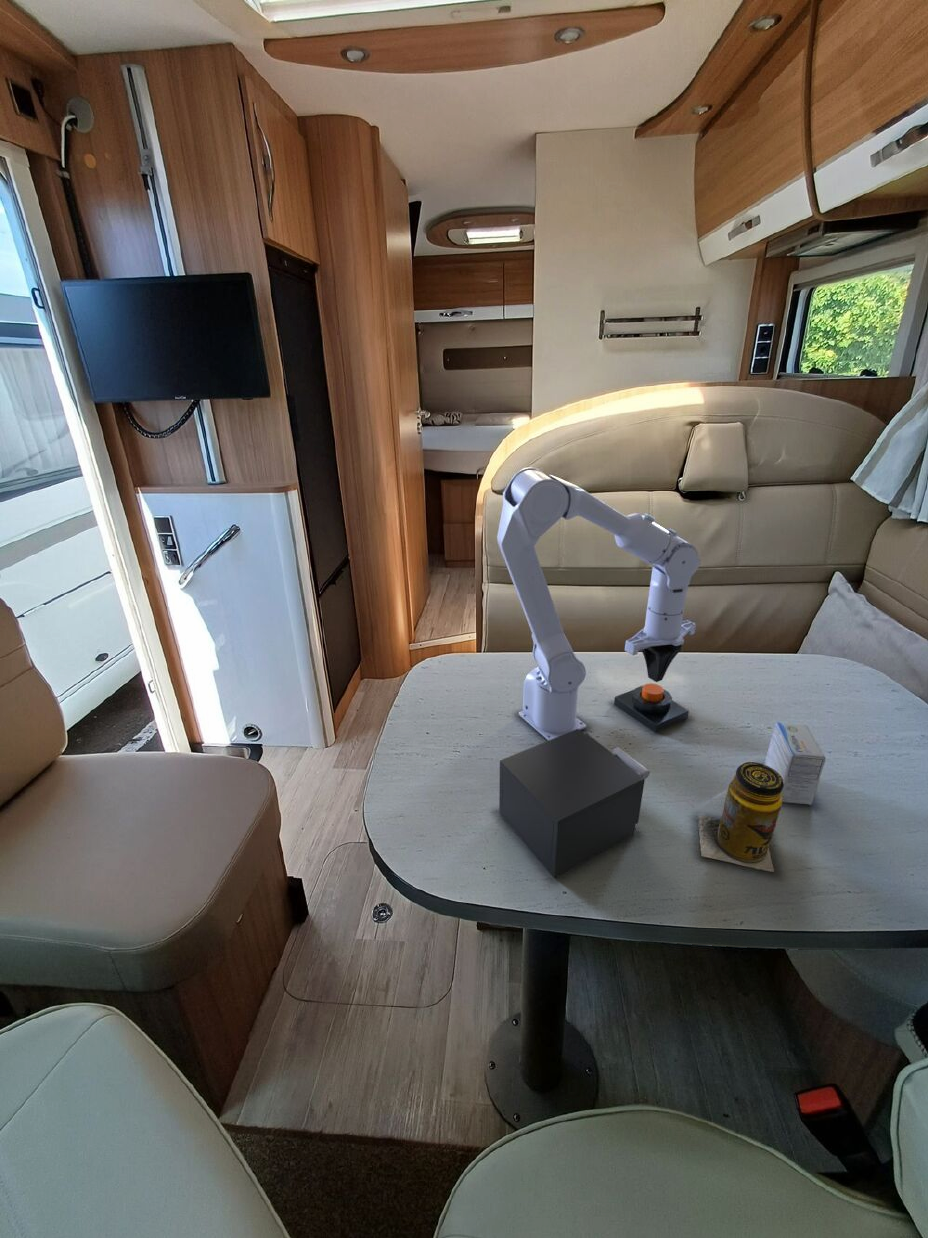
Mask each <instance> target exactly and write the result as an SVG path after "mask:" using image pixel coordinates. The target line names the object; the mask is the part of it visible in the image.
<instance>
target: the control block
mask: <svg viewBox="0 0 928 1238" xmlns="http://www.w3.org/2000/svg"><path fill="white" fill-rule="evenodd" d="M644 685H645V684H644ZM644 685H643V684H642V685H640V686H637V687H635V688H634V689H631V690H629V691H626V692H624V693H622V694H621V693H620V694H618V695H615V697H614V701H613V705H614V706H616V707H617V708H619V709H620V710H621V711H623V712H624V713H626V714H627V715H628V716H630V717H631V718H633V719H635V720H636V721H637V722H639V723H640V724H641V725H643V726H645V727H646V728H647V729H649V730H650V731H652V732H653V733H655V734H656V733H658V732H660V731H663V730H665V729H667V728H669V727H671V726H674V725H676V724H678V723H680V722H683V721H685V720H687V719H688V717H689V714H690V713H689V712H690V710H688V709H687V708H685V707H683V706H682V705H681V704H679V703H677V702H675V701H674V700H673V697H672V695H671V693H670V692H669V691H668V690H666V689H664V694H663V699H662V701H660V702H651V701H647V700H645V699H644V698H642V689H643V686H644Z"/></svg>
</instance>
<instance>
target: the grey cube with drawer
mask: <svg viewBox="0 0 928 1238" xmlns="http://www.w3.org/2000/svg"><path fill="white" fill-rule="evenodd" d="M585 734H586V733H584V732H583V731H582V730H579V729H576V730H573V731H571V732H568V733H566V734H563V735H561V736H559V737H556V738H554V739H551V740H549V741H548V740H546V741H544V742H541V743H540V744H539V743H538V744H537V745H534V746H531V747H529V748H527V749H524V750H521V751H520V752H517V753H514V754H512V755H510V756H508V757H505V758H502V759H500V760H499V799H498V800H499V807H498V809H499V815H500V816H501V817H502V819H504V821H505V822H506V823H507V824H508V825H509V827H510V828H511V829H512V830H513V832H515V834H516V835H517V836H518V837H519V838H520V840H521V842H522V843H524V845H525V846H526V847H527V848H528V849H529V850H530V851H531V853H532V854H533V855H534V856H535V857H536V859H537V860H538V861H539V862H540V864H541V865H542V866H543V867H544V868H545V869H546V870H547V872H548V873H549V874H550V875H551V876H552V877H553V878H554V879H555V878H557V877H559V876H561V875H563V874H565V873H566V872H568V871H570V870H572V869H574V868H576V867H577V866H579V865H581V864H583V863H585V862H587V861H589V860H590V859H592V858H594V857H596V856H598V855H600V854H601V853H603V852H605V851H607V850H609V849H611V848H612V847H614V846H616V845H618V844H620V843H622V842H623V841H625V840H627V839H628V838H631V837H633V836H634V835H635V831H636V825H637V824H636V819H637V813H638V806H639V800H640V793H641V786H642V785H641V784H642V779H641V778H639V777H638V776H637V775H636V774H634V773H633V772H632V771H631V770H629V769H628V768H627V767H626V766H624V765H623V764H622V763H621V762H619V761H618V760H617V759H616V758H614V757H613V756H612V755H611V754H609V753H608V752H607V751H605V750H604V749H603V748H602V747H600V746H599V745H598V744H597V743H595V742H594V741H593V740H592V739H590V738H589V737H588V736H587V735H585Z"/></svg>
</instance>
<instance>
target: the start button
mask: <svg viewBox="0 0 928 1238" xmlns="http://www.w3.org/2000/svg"><path fill="white" fill-rule="evenodd" d="M664 690H665V688H663V687H662V686H661V685H660V684H657V683H645V684H644V686H643V689H642V698H644V699H645V700H647V701H651V702H660V701H662V699H663V694H664Z"/></svg>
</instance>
